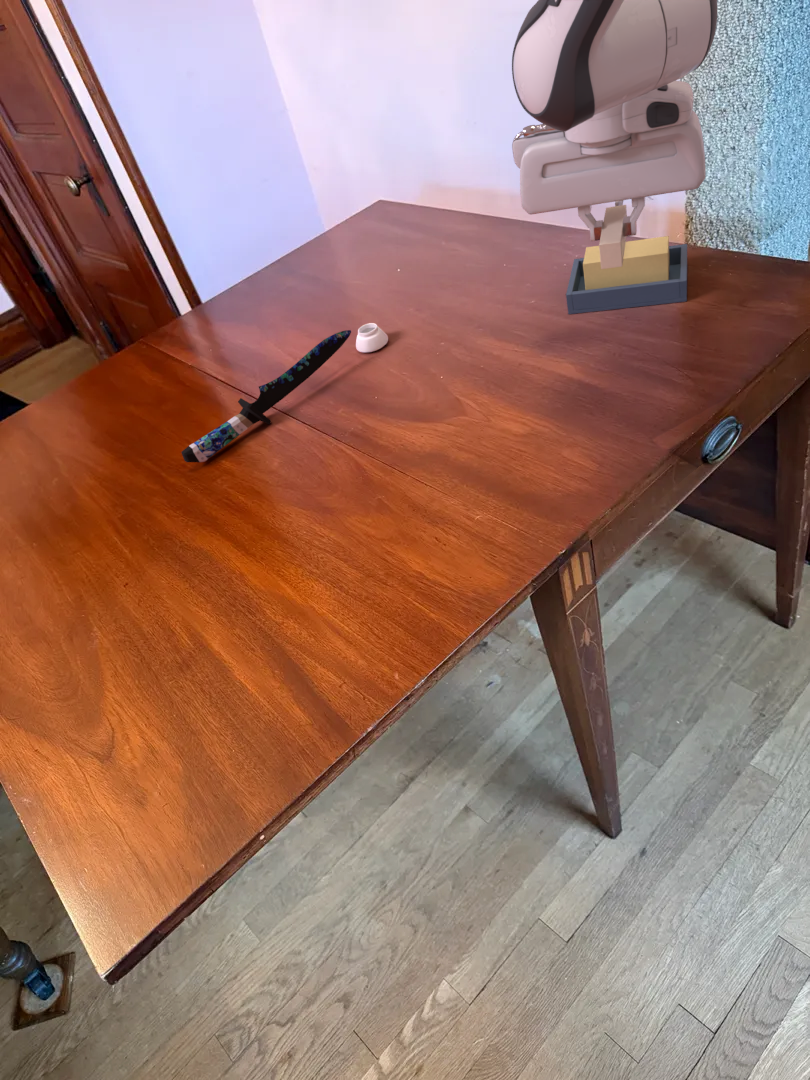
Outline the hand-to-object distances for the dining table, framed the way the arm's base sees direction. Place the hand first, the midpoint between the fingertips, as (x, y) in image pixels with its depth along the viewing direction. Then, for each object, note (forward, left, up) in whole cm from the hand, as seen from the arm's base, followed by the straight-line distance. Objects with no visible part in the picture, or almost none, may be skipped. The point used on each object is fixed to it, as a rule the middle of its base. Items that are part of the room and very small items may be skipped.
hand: (614, 236), depth 89 cm
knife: (+46, +12, -13) cm, 49 cm away
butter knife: (0, -6, -2) cm, 6 cm away
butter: (0, -12, -12) cm, 17 cm away
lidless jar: (+37, -4, -14) cm, 39 cm away
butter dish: (0, -12, -13) cm, 18 cm away
